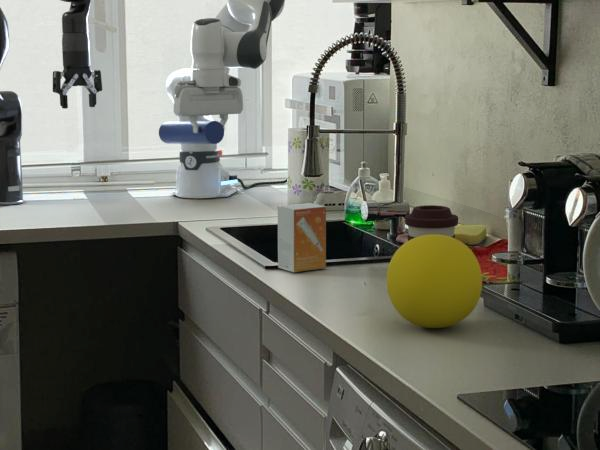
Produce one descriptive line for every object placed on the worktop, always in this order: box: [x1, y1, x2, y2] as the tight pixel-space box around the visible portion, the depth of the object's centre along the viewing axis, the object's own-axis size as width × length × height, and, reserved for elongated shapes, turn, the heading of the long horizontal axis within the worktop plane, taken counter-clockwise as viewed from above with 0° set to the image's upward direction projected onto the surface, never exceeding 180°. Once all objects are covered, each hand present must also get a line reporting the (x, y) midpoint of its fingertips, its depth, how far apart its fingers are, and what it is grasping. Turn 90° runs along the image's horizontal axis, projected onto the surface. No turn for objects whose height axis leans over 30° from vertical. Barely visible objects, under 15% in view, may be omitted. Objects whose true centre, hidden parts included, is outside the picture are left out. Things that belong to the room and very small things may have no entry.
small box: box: [277, 202, 327, 273], centre depth 214 cm, size 8×6×13 cm
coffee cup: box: [404, 204, 459, 241], centre depth 197 cm, size 10×10×15 cm
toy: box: [386, 234, 483, 329], centre depth 168 cm, size 15×15×15 cm
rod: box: [158, 120, 225, 145], centre depth 288 cm, size 24×6×6 cm, turn 38°
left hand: (78, 107), depth 295 cm, fingers open, 8 cm apart
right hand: (209, 132), depth 281 cm, fingers closed on rod, 6 cm apart
